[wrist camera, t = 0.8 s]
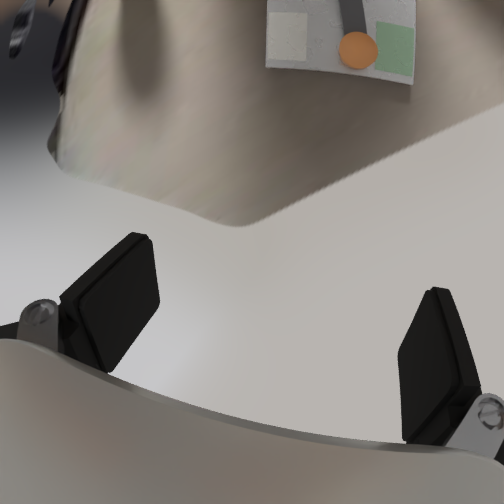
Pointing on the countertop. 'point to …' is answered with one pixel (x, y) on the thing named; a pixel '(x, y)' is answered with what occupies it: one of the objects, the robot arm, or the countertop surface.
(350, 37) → the breaker lever
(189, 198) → the countertop surface
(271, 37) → the panel
